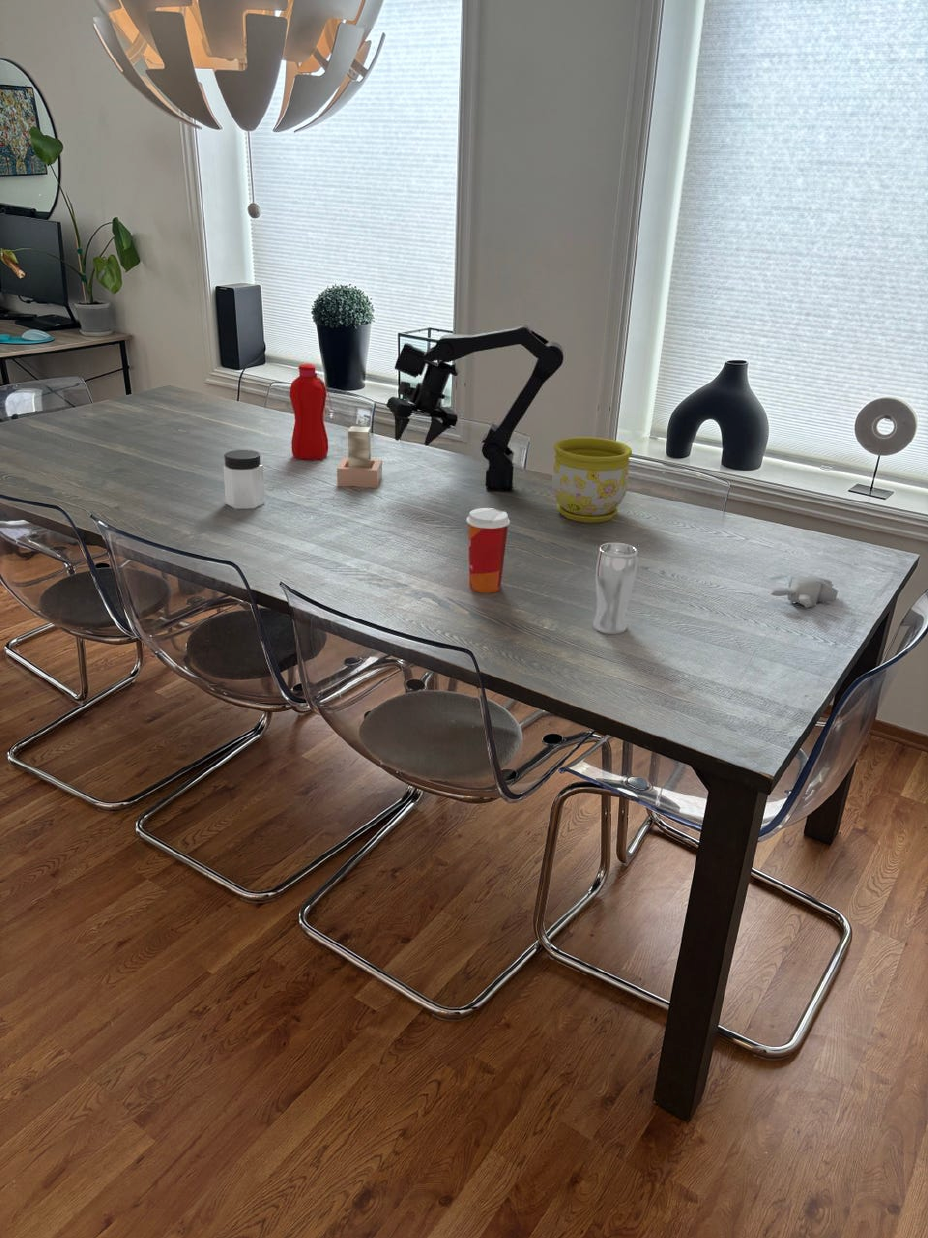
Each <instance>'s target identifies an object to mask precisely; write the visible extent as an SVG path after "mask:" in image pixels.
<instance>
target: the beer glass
mask: <svg viewBox="0 0 928 1238" xmlns="http://www.w3.org/2000/svg"><path fill="white" fill-rule="evenodd" d="M595 567H596V568H595V590H596V591H595V592H596V613H595V615H594V619H593V621H592V622H593V623H592V626H593V628H594V629H595V630H596V631H598V632H600V633H603V634H607V635H618V634H622V633H624V632H625V631H627V629H628V626H627V625H628V622H627V609H628V605H629V602H630V600H631V596H632V594H633V589H634V587H635V582H636V576H637V570H638V569H637V567H638V549H637V547H634V546H633V545H630V544H627V543H624V542H623V543H622V542H606V543H603V544H601V545H600V546H599V550H598V557H597V560H596V566H595Z"/></svg>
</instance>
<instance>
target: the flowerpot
mask: <svg viewBox="0 0 928 1238" xmlns="http://www.w3.org/2000/svg"><path fill="white" fill-rule="evenodd" d="M553 449H554V452H555V455H554V464H553V467H552V475H551V476H552V477H551V486H552V491H553V492H552V493H553V494H554V497H555V499H556V501H557V502H558V504H557V505H556V507H557V508H556V509H557V510H558V511H559V512H560V514H561V515H562V517H564V518H565V519H566V518H567V519H569V520H571V521H574V522H581V523H590V524H591V523H593V524H594V523H603V522H608V521H610V520H611V519H612V518H613V517H614V516H615V515H617V514H618V506H620V504H621V502H622V501H623V499H624V498H625V496H626V493H627V491H628V486H629V465H630V458H631V456H632V454H633V450H632V448H631V447H630V446H629V445H628V444H625V443H623V442H620V441H617V440H613V439H607V438H601V437H584V436H581V437H580V436H579V437H569V438H564V439H561V440H557V441H556V442H555V443H554V445H553Z"/></svg>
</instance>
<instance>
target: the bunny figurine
mask: <svg viewBox="0 0 928 1238" xmlns="http://www.w3.org/2000/svg"><path fill="white" fill-rule="evenodd" d="M787 586H788V587H775V588H773V590H772V592H771V595H772V596H777V597H780V596H781V597H782V596H787V600H788V601H790V602H797V603H796V604H799V605H802V606H803V607H804V606H806V607H809V608H814V607H815V606H816V605H817V603H818V602H817V601H820V602H825V603H828V602H829V603H831V602H835V601H836V600H837V597H838V593H839V590H837V589H836V588H834V587H833V586H834V583H832V581H831V580H829V579H826V578H823V577H818V576H816V575H812V574H809V575H808V576H804V575H797V576H790V579H789V583H788V585H787ZM820 602H819V603H820ZM815 604H816V605H815ZM814 605H815V606H814ZM813 606H814V607H813Z"/></svg>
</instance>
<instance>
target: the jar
mask: <svg viewBox="0 0 928 1238" xmlns="http://www.w3.org/2000/svg"><path fill="white" fill-rule="evenodd" d="M223 458H224V465H223V464H222V465H223V466H222V467H223V480H224V491H225V492H224V495H225V504H226V505H228V506H230V507H231V508H233V509H234V510H239V509H240V510H243V509H245V510H246V509H247V510H249V509H250V510H251V509H252V510H254V509H256V508H258V507H259V506H262V505H264V504H265V502H266V501H265V486H264V485H265V484H264V466H263V464H261V453H259V452H258V451H257V450H253V449H235V450H230V451H229V450H228V451H227V452H225V453H224V456H223Z"/></svg>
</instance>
